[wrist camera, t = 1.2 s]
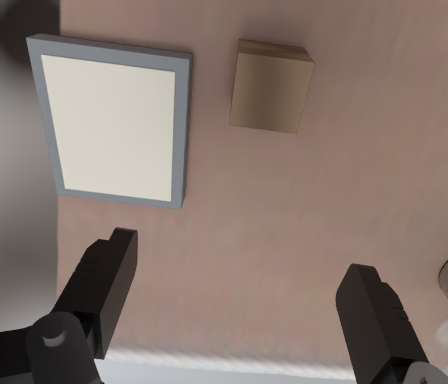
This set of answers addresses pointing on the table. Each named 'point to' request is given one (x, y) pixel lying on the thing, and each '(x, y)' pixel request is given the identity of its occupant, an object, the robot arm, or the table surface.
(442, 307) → the table surface
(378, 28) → the table surface
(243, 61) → the cube
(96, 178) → the board
